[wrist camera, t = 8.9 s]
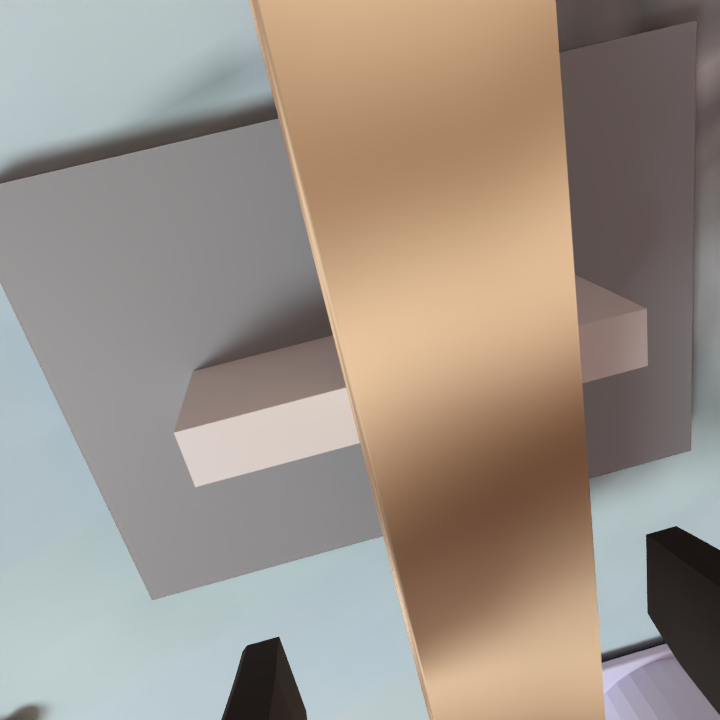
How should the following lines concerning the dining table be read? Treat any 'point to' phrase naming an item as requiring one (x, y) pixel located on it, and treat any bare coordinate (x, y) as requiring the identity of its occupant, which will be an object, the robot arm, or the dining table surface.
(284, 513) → the fulcrum stand
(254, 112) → the dining table surface
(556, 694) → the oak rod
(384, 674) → the dining table surface
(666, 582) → the robot arm
